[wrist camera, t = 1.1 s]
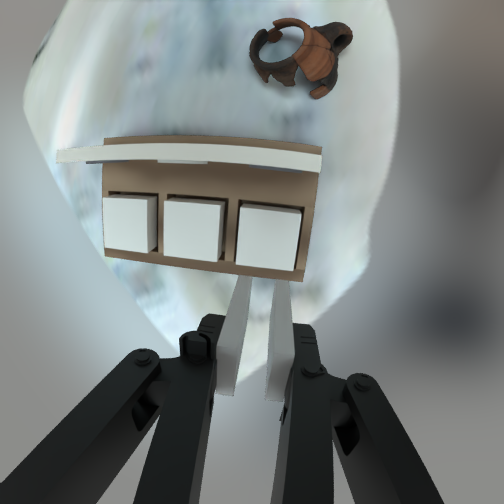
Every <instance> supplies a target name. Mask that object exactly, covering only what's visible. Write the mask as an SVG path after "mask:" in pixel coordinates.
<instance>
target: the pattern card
mask: <svg viewBox="0 0 504 504" xmlns="http://www.w3.org/2000/svg"><path fill="white" fill-rule="evenodd" d="M135 159H154V160H158V163H185V164H208V161H213V162H228V163H241V164H249V167H251V168H259V169H267V170H276V171H285V172H294V173H302V170H304V171H312V172H318V173H320V172H321V164H322V155H316V154H309V153H302V152H295V151H287V150H278V149H269V148H259V147H247V146H234V145H217V144H191V143H144V144H118V145H102V146H90V147H79V148H70V149H61V150H57V157H56V163H66V162H80V161H86V164H96V163H119V162H129V160H135Z"/></svg>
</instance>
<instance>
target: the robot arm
mask: <svg viewBox="0 0 504 504" xmlns="http://www.w3.org/2000/svg"><path fill="white" fill-rule="evenodd" d="M251 285H252V276H244V275H239V277H238V280H237V283H236V286H235V289H234V292H233V296H232V299H231V302H230V305H229V308H228V311H227V314H226V316H223V315H216V314H210V313H209V314H207V315H206V316H205V317H203V318H202V320H201V322H200V324H199V327H198V329H197V331H190V332H186V333H184V334H183V335H182V336H181V337H180V338H179V345H180V356H179V357H176V358H166V359H165V358H163V359H161V358H160V359H159V355H158V354H157V353H156V352H155V351H153V350H150V349H137V350H134V351H132V352H131V353H129V354H128V355H127V356H126V357H125V358H124V359H123V360H122V361H121V362H120V363H119V364H118V365H117V366H116V367H115V368H114V369H113V370H112V371H111V372H110V373H109V374H108V375H107V376H106V377H105V378H104V379H103V380H102V381H101V382H100V383H99V384H98V385H97V386H96V387H95V388H94V389H93V390H92V391H91V392H90V393H89V394H88V395H87V396H86V397H85V398H84V399H83V400H82V401H81V402H80V403H79V404H78V405H77V406H76V407H75V408H74V409H73V410H72V411H71V412H70V413H69V414H68V415H67V416H66V417H65V418H64V419H63V420H62V421H61V422H60V423H59V424H58V425H57V426H56V427H55V428H54V429H53V430H52V431H51V432H50V433H49V434H48V435H47V436H46V437H45V438H44V439H43V440H42V441H41V442H40V443H39V444H38V445H37V446H36V448H35V449H33V451H32V452H31V453H30V454H29V455H28V456H27V457H26V458H25V459H24V460H23V461H22V462H21V463H20V464H19V465H18V466H17V467H16V468H15V469H14V470H13V472H11V474H10V475H9V476H8V477H7V478H6V479H5V480H4V481H3V482H2V483H0V504H96V503H97V502H98V500H99V499H100V498H101V496H102V495H103V494H104V492H105V491H106V489H107V488H108V487H109V485H110V484H111V483H112V481H113V480H114V478H115V477H116V475H117V474H118V473H119V471H120V470H121V469H122V467H123V466H124V465H125V463H126V462H127V460H128V459H129V458H130V456H131V455H132V454H133V452H134V451H135V449H136V448H137V447H138V445H139V444H140V442H141V441H142V439H143V438H144V436H145V435H146V434H147V432H148V431H149V430H150V428H151V427H152V425H153V424H154V422H155V421H156V419H157V418H158V417H159V420H158V423H157V426H156V429H155V432H154V435H153V438H152V442H151V445H150V448H149V451H148V454H147V458H146V461H145V465H144V467H143V471H142V475H141V478H140V481H139V485H138V488H137V491H136V495H135V498H134V502H133V504H199V497H200V491H201V484H202V477H203V469H204V462H205V455H206V449H207V443H208V436H209V430H210V423H211V417H212V410H213V404H214V392H215V389H216V394H221V395H228V396H234V390H235V385H236V380H237V374H238V369H239V364H240V358H241V353H242V348H243V342H244V337H245V331H246V326H247V320H248V313H249V304H250V294H251ZM284 396H285V403H284V407H283V410H282V414H281V417H280V421H281V428H280V437H279V445H278V453H277V461H276V469H275V477H274V483H273V490H272V497H271V503H270V504H334V473H333V443H332V439H333V442H334V445H335V447H336V450H337V453H338V456H339V459H340V462H341V464H342V467H343V470H344V473H345V476H346V479H347V482H348V484H349V488H350V490H351V493H352V496H353V499H354V502H355V504H444V502H443V500H442V498H441V496H440V495H439V492H438V490H437V488H436V487H435V484H434V483H433V481H432V479H431V477H430V475H429V473H428V471H427V469H426V467H425V466H424V463H423V462H422V460H421V458H420V456H419V455H418V453H417V451H416V449H415V447H414V445H413V443H412V442H411V440H410V438H409V436H408V434H407V433H406V431H405V429H404V427H403V426H402V424H401V422H400V421H399V419H398V417H397V415H396V413H395V412H394V410H393V408H392V406H391V405H390V403H389V401H388V400H387V398H386V396H385V395H384V393H383V391H382V390H381V388H380V386H379V385H378V383H377V381H376V380H375V379H374V378H373V377H371V376H369V375H367V374H363V373H355V374H352V375H350V376H349V377H348V379H347V380H345V379H341V378H337V377H334V376H332V375H330V374H328V373H327V370H326V368H325V367H324V366H323V365H322V364H321V361H320V356H319V351H318V345H317V340H316V335H315V330H314V329H313V328H312V327H311V326H310V325H309V324H298V323H292V311H291V299H290V288H289V281H287V280H278V279H276V280H275V287H274V294H273V301H272V308H271V315H270V324H269V343H268V360H267V376H266V391H265V400H268V401H279V402H283V399H284ZM159 415H160V416H159Z"/></svg>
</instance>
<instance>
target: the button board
mask: <svg viewBox="0 0 504 504" xmlns="http://www.w3.org/2000/svg"><path fill="white" fill-rule="evenodd" d="M144 143H191V144H217V145H234V146H247V147H259V148H269V149H278V150H287V151H295V152H302V153H309V154H316V155H321V151H322V147H319V146H313V145H306V144H299V143H291V142H283V141H274V140H264V139H253V138H240V137H223V136H196V135H156V136H129V137H114V138H104V145H118V144H144ZM318 177H319V173H318V172H312V171H304V170H302V173H294V172H285V171H276V170H267V169H259V168H251V167H249V164H241V163H228V162H213V161H208V164H185V163H158V160H154V159H135V160H129V162H119V163H103V167H102V217H103V197H106V196H110V195H114V194H120V195H141V196H157V246H156V247H155V248H154V249H153V250H151V251H150V252H149V253H141V252H134V251H127V250H119V249H112V248H105V245H104V251H105V256H107V257H113V258H120V259H127V260H133V261H140V262H147V263H154V264H161V265H168V266H175V267H182V268H190V269H197V270H205V271H212V272H220V273H228V274H236V275H244V276H253V277H261V278H270V279H279V280H288V281H297V282H303V277H304V272H305V266H306V260H307V254H308V248H309V241H310V235H311V228H312V222H313V215H314V208H315V201H316V193H317V185H318ZM173 197H175V198H189V199H201V200H213V201H224V202H225V211H224V225H223V240H222V254H221V256H220V258H219V259H218V261H217V262H211V261H203V260H195V259H187V258H179V257H172V256H164V201H165V200H168V199H170V198H173ZM243 203H245V204H255V205H264V206H273V207H281V208H290V209H298V210H300V212H301V214H302V215H301V222H300V229H299V236H298V243H297V250H296V257H295V263H294V269H293V271H287V270H278V269H270V268H261V267H252V266H244V265H236V255H237V242H238V230H239V218H240V207H241V206H242V205H243ZM103 237H104V229H103Z"/></svg>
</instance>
